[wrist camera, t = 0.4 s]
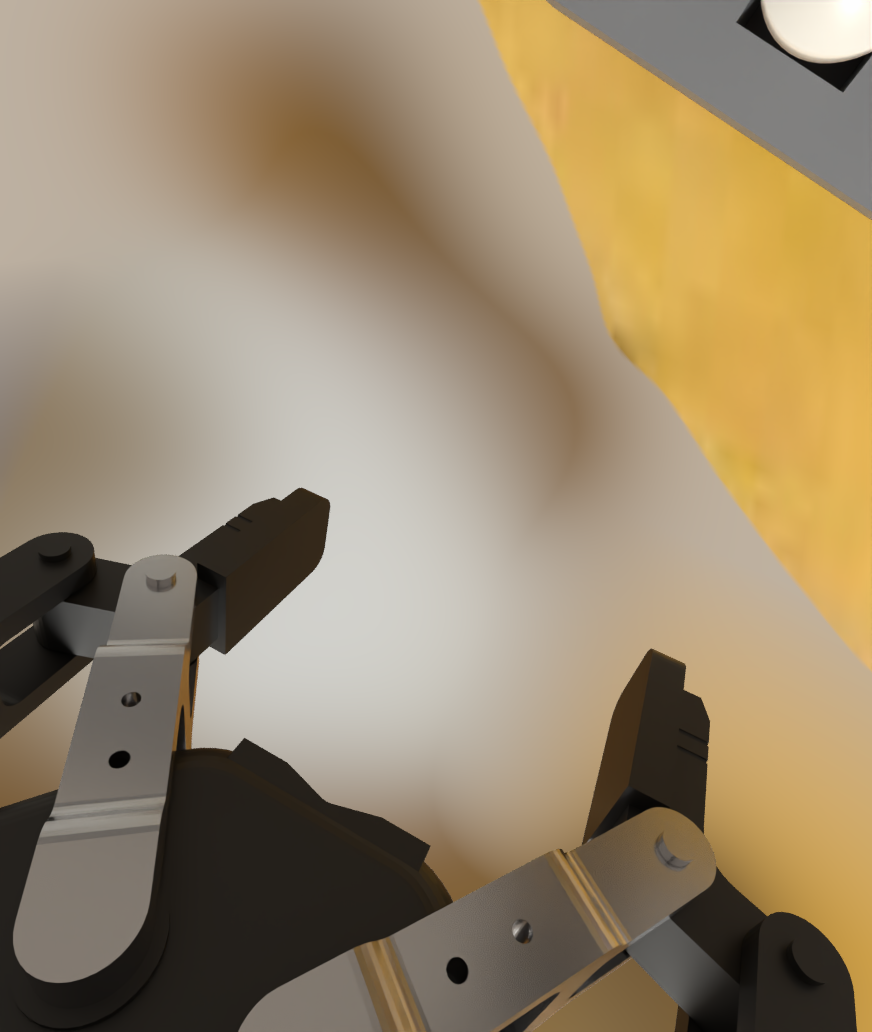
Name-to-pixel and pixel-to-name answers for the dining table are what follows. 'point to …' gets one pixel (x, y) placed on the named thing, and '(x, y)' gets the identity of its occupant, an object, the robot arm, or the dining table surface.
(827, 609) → the dining table surface
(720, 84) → the mount
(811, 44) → the knob
